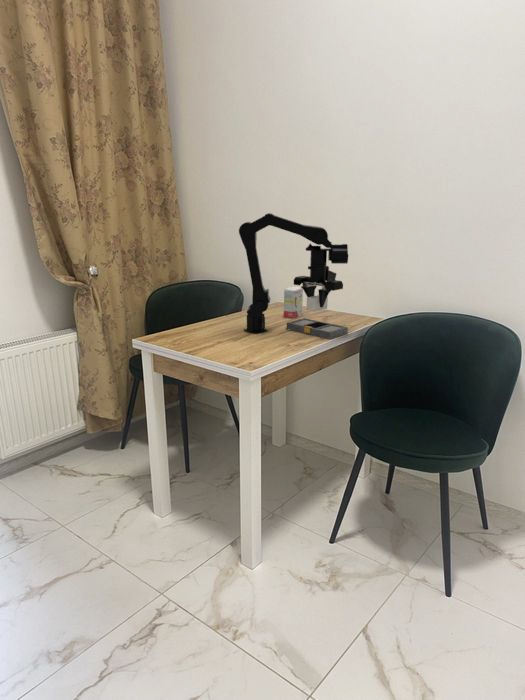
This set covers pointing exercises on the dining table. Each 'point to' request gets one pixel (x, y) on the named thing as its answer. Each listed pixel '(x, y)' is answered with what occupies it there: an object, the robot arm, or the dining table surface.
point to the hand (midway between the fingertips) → (317, 306)
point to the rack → (317, 328)
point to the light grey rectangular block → (315, 303)
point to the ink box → (293, 302)
